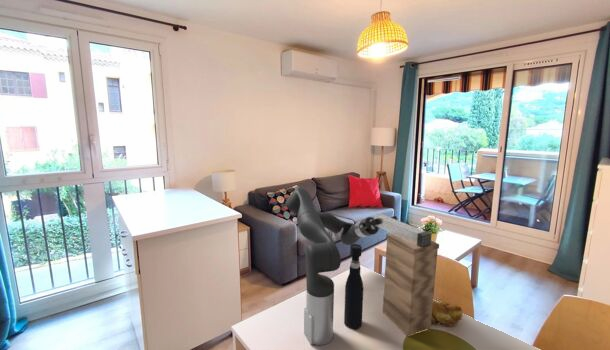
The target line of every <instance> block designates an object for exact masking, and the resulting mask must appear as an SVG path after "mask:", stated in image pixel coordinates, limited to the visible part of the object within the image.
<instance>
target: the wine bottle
mask: <svg viewBox="0 0 610 350" xmlns="http://www.w3.org/2000/svg"><path fill="white" fill-rule="evenodd" d="M362 249H363V248H362V246H361V244H357V243H354V244H352V245H349V256H351V260H350V265H349V274H348V276H347V278H346V282H345V286H344V287H345V288H344V289H345V290H344V314H343V316H344V318H343V323H344V325H345V327H346V328H348V329H350V330H358V329H360V328H361V327H362V324H363V310H364V309H363V308H364V307H363V305H364V282H363V279H362V276H361V262H360V257H361V256H362Z"/></svg>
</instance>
